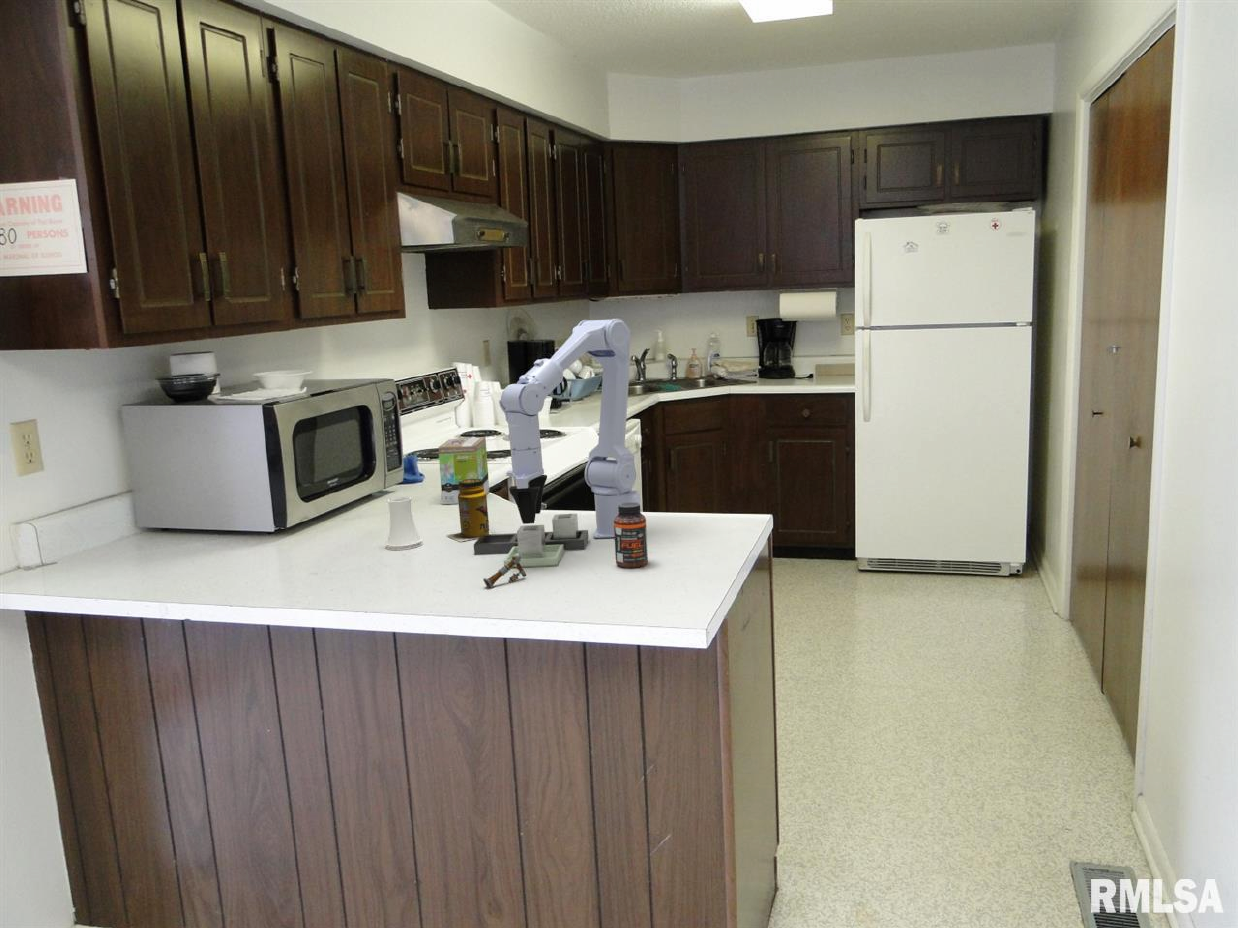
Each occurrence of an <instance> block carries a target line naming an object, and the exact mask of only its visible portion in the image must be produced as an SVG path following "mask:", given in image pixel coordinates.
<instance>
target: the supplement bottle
mask: <svg viewBox="0 0 1238 928" xmlns="http://www.w3.org/2000/svg"><path fill="white" fill-rule="evenodd" d="M641 510H642V509H641V503H640V504H639V503H635V502H627V503H621V504H619V505H618V512H619V514H618V516H616V517H615V519H614V535H615V537H614V552H615V554H614V555H615V563H616V565H617V566H619V567H621V568H624V569H627V568H628V569H635V568H641V567H644V566H645V565H647V563H648V562H649V555H648V554H649V553H648V552H649V551H648V533H647V531H648V530H647V518H646V517H645V515H644V514H642V513H641Z"/></svg>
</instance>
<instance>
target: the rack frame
mask: <svg viewBox="0 0 1238 928" xmlns="http://www.w3.org/2000/svg"><path fill="white" fill-rule="evenodd" d="M578 532H579V539H563V540H554V537H553V531H545V542H546V545H563V546H564V550H566V551H583V550H586V547H587V544H588V543H589V540H588V539H589V530H588V529H582V530H581V529H578ZM512 547H518V539H517V532H515V533H514V532H513V533H495V534H490V535H481V536H480V538H478V539H476V541H475V543H474V544H473V552H474V553H473V554H474V555H497V554H508V553H509V552H510V550H511V549H512Z"/></svg>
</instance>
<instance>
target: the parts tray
mask: <svg viewBox="0 0 1238 928" xmlns="http://www.w3.org/2000/svg"><path fill="white" fill-rule="evenodd" d="M564 552H565V551H564V546H563V545H546V557H545V558H536V559H520V560H521V561H519V563H520V565H521V567H522V568H523V569H524V568H525V569H526V568H541V567H542V568H543V567H546V568H547V567H559V564H560V562H561V559H562V557H563V555H564ZM518 555H519V551H518V547H512V549H511V550H510V552H509V553H507V555H506V557H505V558H504V559H503V567H505V566H504V565H507V564H508V563H509V562H510V561H511V559H512V557H513V556H518ZM514 567H517V565H514ZM517 568H518V567H517ZM517 568H516V569H517ZM511 569H514V568H513V567H512V568H511Z"/></svg>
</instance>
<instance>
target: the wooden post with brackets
mask: <svg viewBox="0 0 1238 928" xmlns="http://www.w3.org/2000/svg"><path fill="white" fill-rule="evenodd" d="M520 559H521V555H518V556H513V557H512V559H511V561H510V562H509V563H508V564H507V565H504V564H503V566H502V567H501V568H500V569H499V570H498V571H497V572H496V573H494V574H492V576H490V577H487V578H485V577H484V578H482V580H483V583H484V584H485V585H486V587H488V588H491V589H493V588H494V585H495V583H497V581H498V580H499V579H500V578H501V577H502V576H503V577H504V576H505V575H506V574H507V573H508V572H510V571H511V569H517V570H518V571H519V572H516V573H512V575H511V576H509V577H508V582H509V583H514V582H515V581H516V580H519V577H520V575H521V576H522V577H523V578H526V577H527V574H526V571H525V569H524V568H522V567H521V565H520V563H519V561H521V560H520ZM514 565H517V567H518V568H517V567H514ZM504 566H505V567H504ZM512 567H513V568H512Z"/></svg>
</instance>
